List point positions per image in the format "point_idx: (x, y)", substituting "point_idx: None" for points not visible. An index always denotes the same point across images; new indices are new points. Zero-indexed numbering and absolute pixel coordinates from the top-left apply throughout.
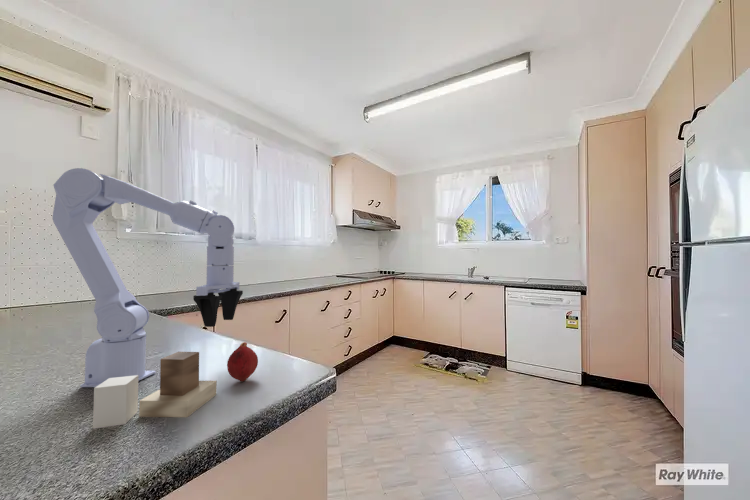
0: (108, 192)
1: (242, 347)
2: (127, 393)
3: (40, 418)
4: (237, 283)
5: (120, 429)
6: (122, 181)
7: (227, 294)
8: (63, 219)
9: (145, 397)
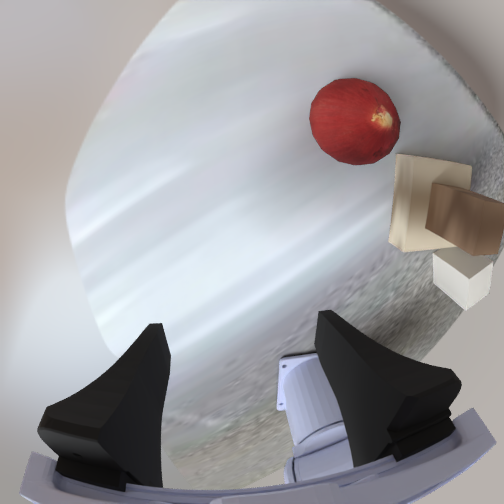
0: None
1: (393, 116)
2: (480, 257)
3: (417, 348)
4: (47, 500)
5: None
6: None
7: (142, 465)
8: None
9: (454, 246)
